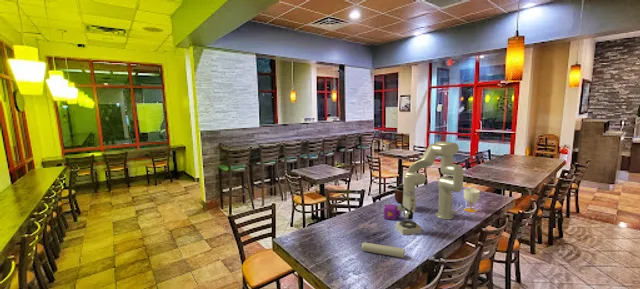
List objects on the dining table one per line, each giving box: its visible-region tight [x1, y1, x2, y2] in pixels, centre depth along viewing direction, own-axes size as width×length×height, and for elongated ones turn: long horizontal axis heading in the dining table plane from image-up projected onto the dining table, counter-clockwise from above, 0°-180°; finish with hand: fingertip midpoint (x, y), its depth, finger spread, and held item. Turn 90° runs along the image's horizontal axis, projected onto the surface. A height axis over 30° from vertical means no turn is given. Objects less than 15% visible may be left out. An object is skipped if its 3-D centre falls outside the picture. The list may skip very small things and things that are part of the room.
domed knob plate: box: [395, 219, 422, 236], centre depth 191 cm, size 14×10×6 cm
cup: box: [463, 187, 481, 214], centre depth 224 cm, size 12×12×17 cm
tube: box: [361, 241, 405, 259], centre depth 163 cm, size 5×5×25 cm
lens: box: [404, 209, 412, 220], centre depth 190 cm, size 5×5×6 cm
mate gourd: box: [394, 186, 404, 212], centre depth 231 cm, size 16×14×20 cm
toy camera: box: [383, 203, 403, 221], centre depth 213 cm, size 11×14×10 cm
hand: (408, 217), depth 190 cm, fingers closed on lens, 5 cm apart
